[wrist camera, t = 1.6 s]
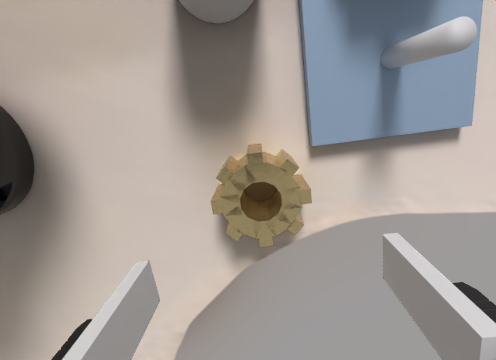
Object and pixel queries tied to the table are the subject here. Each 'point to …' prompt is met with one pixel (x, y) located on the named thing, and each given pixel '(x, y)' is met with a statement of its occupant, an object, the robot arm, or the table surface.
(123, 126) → the table surface
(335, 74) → the gear board
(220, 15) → the mug
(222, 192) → the brass gear
